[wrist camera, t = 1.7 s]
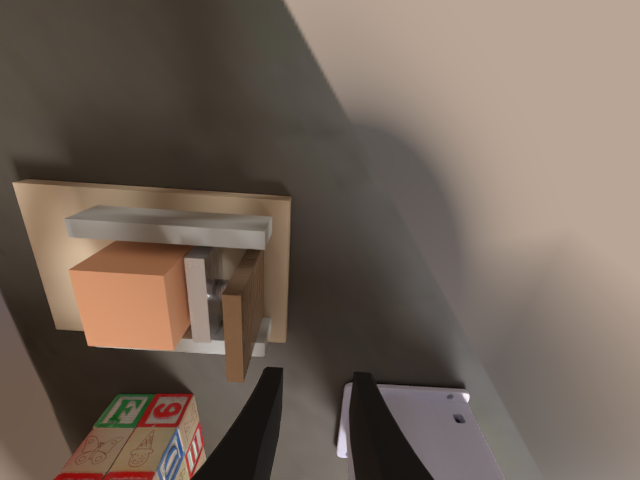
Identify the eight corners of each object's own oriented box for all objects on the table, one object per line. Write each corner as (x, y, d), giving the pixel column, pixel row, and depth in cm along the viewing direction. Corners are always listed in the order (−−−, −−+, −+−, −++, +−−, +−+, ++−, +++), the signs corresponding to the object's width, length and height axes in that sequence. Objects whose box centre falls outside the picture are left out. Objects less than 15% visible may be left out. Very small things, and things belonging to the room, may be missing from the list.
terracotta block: (198, 240, 19) (163, 275, 15) (203, 303, 20) (173, 350, 16) (123, 235, 19) (68, 269, 15) (134, 299, 20) (88, 345, 16)
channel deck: (291, 196, 19) (284, 214, 16) (287, 333, 23) (281, 370, 19) (27, 178, 19) (-35, 193, 15) (67, 320, 22) (23, 355, 19)
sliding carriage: (263, 241, 18) (240, 291, 13) (264, 315, 20) (243, 385, 15) (203, 237, 18) (156, 286, 13) (209, 312, 20) (170, 381, 15)
